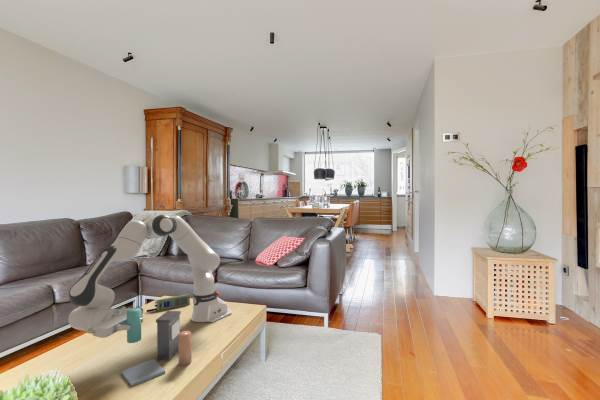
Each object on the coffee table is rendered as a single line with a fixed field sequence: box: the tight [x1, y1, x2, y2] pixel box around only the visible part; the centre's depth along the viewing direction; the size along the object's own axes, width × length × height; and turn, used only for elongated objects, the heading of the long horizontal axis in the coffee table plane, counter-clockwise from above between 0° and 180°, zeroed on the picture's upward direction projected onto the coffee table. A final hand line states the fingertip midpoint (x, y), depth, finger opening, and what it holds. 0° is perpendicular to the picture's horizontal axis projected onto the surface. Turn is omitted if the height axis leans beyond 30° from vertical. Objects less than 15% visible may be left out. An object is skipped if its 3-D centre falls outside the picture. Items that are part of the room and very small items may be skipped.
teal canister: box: [126, 307, 142, 344], centre depth 123 cm, size 5×5×12 cm
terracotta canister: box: [177, 330, 192, 366], centre depth 128 cm, size 5×5×12 cm
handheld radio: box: [146, 293, 191, 313], centre depth 191 cm, size 7×3×25 cm
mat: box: [120, 359, 166, 387], centre depth 120 cm, size 12×12×1 cm
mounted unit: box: [155, 310, 182, 362], centre depth 134 cm, size 10×6×17 cm, turn 176°
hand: (136, 323), depth 123 cm, fingers closed on teal canister, 5 cm apart
